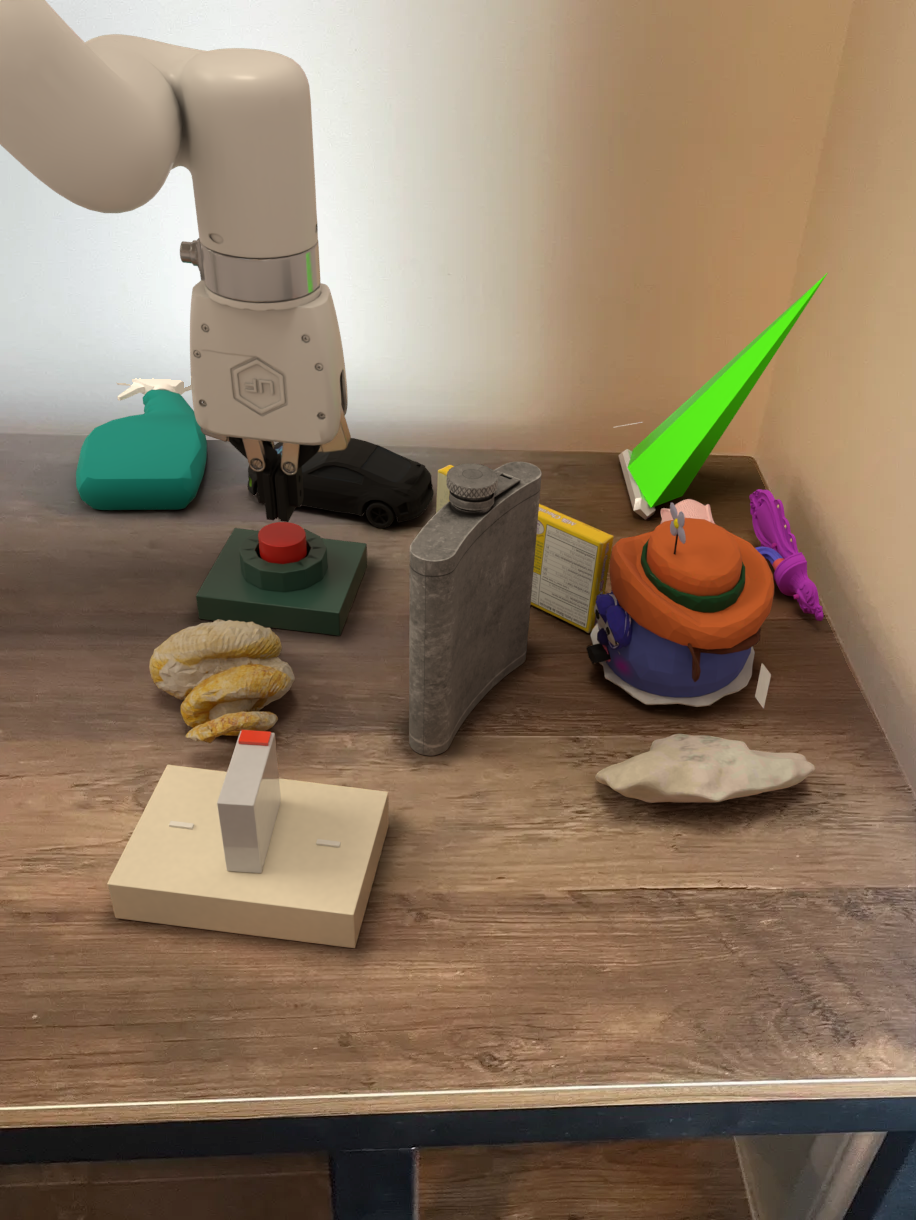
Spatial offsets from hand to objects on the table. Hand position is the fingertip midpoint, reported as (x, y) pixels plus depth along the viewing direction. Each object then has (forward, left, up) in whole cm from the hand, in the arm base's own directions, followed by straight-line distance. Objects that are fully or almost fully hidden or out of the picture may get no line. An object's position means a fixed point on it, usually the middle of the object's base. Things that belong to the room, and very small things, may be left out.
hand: (282, 511), depth 88 cm
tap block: (+6, -29, -7) cm, 30 cm away
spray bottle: (-15, +9, -6) cm, 19 cm away
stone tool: (+26, -20, -5) cm, 33 cm away
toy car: (+1, +15, -8) cm, 17 cm away
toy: (+30, -3, -7) cm, 31 cm away
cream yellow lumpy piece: (-1, -14, -8) cm, 16 cm away
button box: (0, 0, -7) cm, 7 cm away
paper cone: (+41, +25, +13) cm, 50 cm away
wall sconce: (+40, -3, -7) cm, 40 cm away
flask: (+16, -10, -8) cm, 20 cm away
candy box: (+18, +4, -8) cm, 20 cm away
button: (0, 0, -4) cm, 4 cm away
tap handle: (+6, -29, -4) cm, 30 cm away
